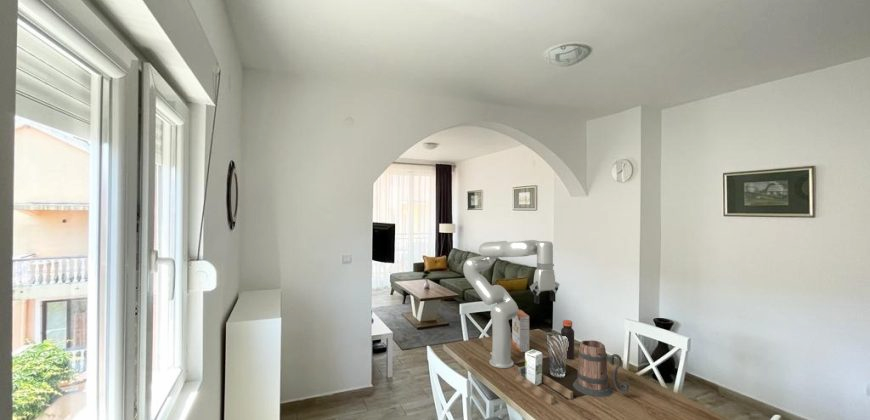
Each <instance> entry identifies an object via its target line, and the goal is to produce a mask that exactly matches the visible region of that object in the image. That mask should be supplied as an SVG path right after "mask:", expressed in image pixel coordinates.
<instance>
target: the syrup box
mask: <svg viewBox="0 0 870 420" xmlns="http://www.w3.org/2000/svg"><path fill="white" fill-rule="evenodd" d="M524 360H525V361H524V366H525V378H526V379H527V380H529V381H530V382H532V383H533V384H535V385H536V386H539V385H541V384H542V383H543V382H542V374H543V352H541V351H538V350H536V349H531V350H530V349H529V351H528V352H524Z"/></svg>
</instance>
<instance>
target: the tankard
mask: <svg viewBox="0 0 870 420" xmlns="http://www.w3.org/2000/svg"><path fill="white" fill-rule="evenodd" d="M577 352H578V353H577V354H578V366H577V375H576V376H577V378H576V379H575V381H574V382H573V383H572V386H573V389H575V390H576V391H577V392H579V393H581V394H584V395H587V396H590V397H594V398H595V397H596V398H607V397H610V396H612V395H613V394H614V389H613V388H612V387H611V385H610V384H609V375H608V363H607V362H609V364H610V365H611V366H614V365H615V358H616V359H617V361H618V363H617V365H616V366H615V368H614V370H613V374H612V378H613V383H614V387H615V388H616V390H617V391H618V392H620V393H622V394H625V393H627V392H628V391H629V390H630V384H629V383H628V382H626V381H623V382H621V384H620V385H619V383H618V377H617V373H618V371H619V370H618V369H620V367H621V364H622V361H623V360H622V357H621V356H620V355H619V354H617V353H614V354H611V355H610V356H608V354H607V352H606V347H605V345H604V344H603V343H602V342H601V341H598V340H594V339H593V340H581V341H580V345H579V348H578V351H577ZM607 360H608V361H607Z"/></svg>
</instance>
